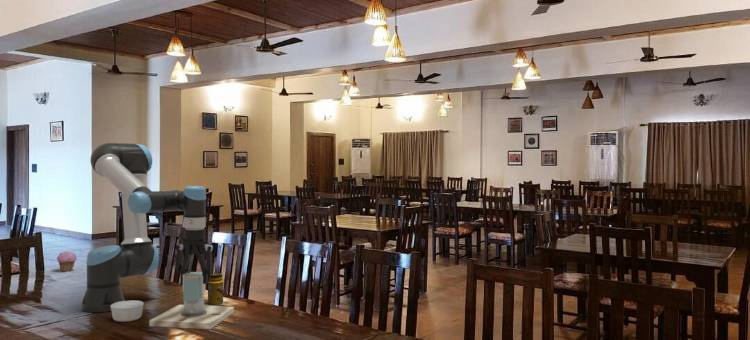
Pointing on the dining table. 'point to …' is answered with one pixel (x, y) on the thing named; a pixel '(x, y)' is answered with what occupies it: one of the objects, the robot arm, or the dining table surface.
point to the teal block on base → (193, 294)
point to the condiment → (215, 290)
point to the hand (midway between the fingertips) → (194, 291)
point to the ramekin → (127, 310)
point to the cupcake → (66, 261)
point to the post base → (192, 317)
